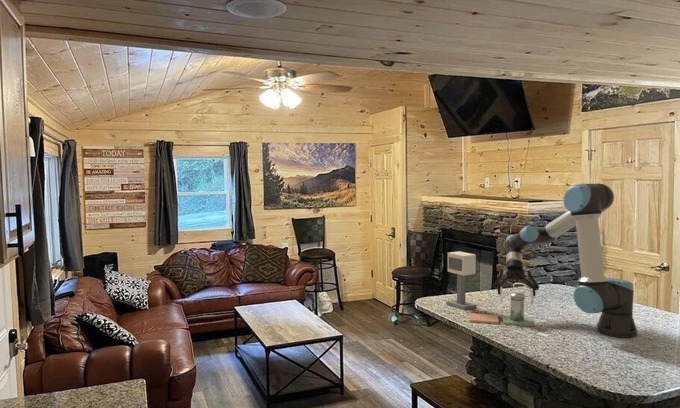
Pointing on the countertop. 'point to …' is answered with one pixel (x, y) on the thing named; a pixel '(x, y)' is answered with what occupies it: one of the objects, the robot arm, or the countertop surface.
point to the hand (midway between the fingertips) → (516, 301)
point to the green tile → (508, 321)
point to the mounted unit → (461, 276)
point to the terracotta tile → (484, 318)
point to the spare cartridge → (517, 306)
